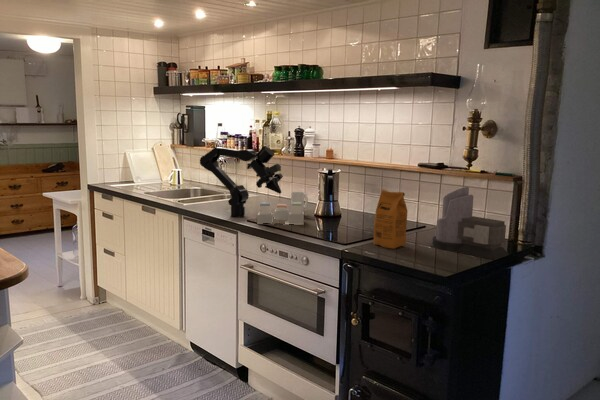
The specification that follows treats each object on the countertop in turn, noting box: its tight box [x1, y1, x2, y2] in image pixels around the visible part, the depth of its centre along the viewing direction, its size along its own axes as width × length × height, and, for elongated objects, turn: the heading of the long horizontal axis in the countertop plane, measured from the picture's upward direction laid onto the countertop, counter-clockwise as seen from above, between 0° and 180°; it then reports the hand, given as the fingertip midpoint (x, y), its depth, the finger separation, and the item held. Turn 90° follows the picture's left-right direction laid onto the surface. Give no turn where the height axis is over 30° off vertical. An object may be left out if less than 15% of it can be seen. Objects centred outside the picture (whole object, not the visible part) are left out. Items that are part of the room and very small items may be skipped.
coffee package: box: [373, 188, 409, 249], centre depth 204 cm, size 10×12×22 cm
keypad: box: [256, 208, 305, 226], centre depth 253 cm, size 22×18×4 cm
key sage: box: [292, 202, 302, 214], centre depth 249 cm, size 5×5×6 cm
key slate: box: [259, 201, 271, 215], centre depth 247 cm, size 5×5×6 cm
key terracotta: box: [276, 203, 288, 211], centre depth 258 cm, size 5×5×6 cm
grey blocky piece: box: [428, 186, 510, 261], centre depth 199 cm, size 30×16×24 cm, turn 41°
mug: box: [290, 191, 309, 213], centre depth 271 cm, size 10×7×12 cm, turn 127°
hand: (280, 193), depth 252 cm, fingers closed
